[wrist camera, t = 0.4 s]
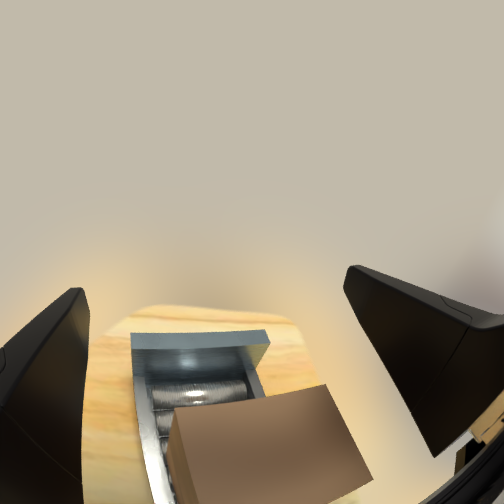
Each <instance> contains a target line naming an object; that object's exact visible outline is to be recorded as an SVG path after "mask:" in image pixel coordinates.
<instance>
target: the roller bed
mask: <svg viewBox="0 0 504 504" xmlns="http://www.w3.org/2000/svg"><path fill="white" fill-rule="evenodd" d="M269 345H270V341H269V339H268V336H267V334H266V331H265V329H264V330H249V331H231V332H205V333H131V357H132V373H133V385H134V394H135V403H136V411H137V418H138V425H139V432H140V438H141V444H142V450H143V455H144V460H145V465H146V470H147V474H148V479H149V483H150V488H151V492H152V496H153V500H154V503H155V504H178V501H177V498H176V494H175V490H174V487H173V483H172V479H171V475H170V471H169V467H168V463H167V459H166V451H167V445H168V440H169V435H170V429H171V424H172V419H173V414H174V409H175V408H180V407H193V406H204V405H214V404H222V403H230V402H238V401H244V400H251V399H257V398H263V397H266V396H265V393H264V391H263V388H262V385H261V383H260V380H259V378H258V375H257V372H256V370H255V369H256V367H257V365H258V364H259V362H260V360H261V359H262V357H263V355H264V353H265V352H266V350H267V348H268V347H269Z"/></svg>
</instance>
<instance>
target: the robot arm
mask: <svg viewBox="0 0 504 504" xmlns="http://www.w3.org/2000/svg"><path fill="white" fill-rule="evenodd" d="M343 289H344V292H345V294H346V296H347V298H348V300H349V303H350V305H351V307H352V309H353V311H354V313H355V315H356V317H357V319H358V321H359V323H360V325H361V327H362V328H363V330H364V331H365V333H366V335H367V336H368V338H369V340H370V342H371V343H372V345H373V347H374V348H375V350H376V352H377V354H378V355H379V357H380V359H381V360H382V362H383V364H384V365H385V367H386V369H387V371H388V373H389V374H390V376H391V378H392V380H393V382H394V383H395V385H396V387H397V389H398V391H399V392H400V394H401V396H402V398H403V400H404V402H405V403H406V405H407V407H408V409H409V411H410V412H411V415H412V417H413V419H414V421H415V423H416V424H417V426H418V428H419V430H420V432H421V434H422V436H423V438H424V440H425V442H426V444H427V446H428V448H429V450H430V452H431V454H432V456H433V457H434V458H435V457H437V456H438V455H439V454H441V453H442V452H443V451H445V450H446V449H447V448H448V447H449V446H451V445H452V444H453V443H454V442H456V441H457V440H458V439H459V438H460V437H462V436H463V435H464V434H465V433H466V432H467V431H469V432H470V433H471V435H472V436H473V438H472V439H471V440H470V441H469V442H468V443H467V444H466V445H464V447H462V449H460V450H459V451H458V452H457V453H456V463H455V472H454V476H453V477H452V478H451V479H450V480H449V481H447V482H446V483H445V484H444V485H443V486H441V487H440V488H439V489H438V490H437V491H435V492H434V493H432V494H431V495H430V496H428V497H427V498H426V499H424V500H423V501H422V502H420V503H419V504H504V314H503V315H498V314H492V313H489V312H486V311H484V310H480V309H478V308H475V307H471V306H469V305H466V304H463V303H460V302H457V301H455V300H452V299H449V298H446V297H444V296H441V295H438V294H436V293H434V292H431V291H428V290H425V289H423V288H420V287H418V286H415V285H413V284H410V283H407V282H404V281H402V280H399V279H397V278H394V277H391V276H388V275H386V274H383V273H380V272H378V271H375V270H372V269H369V268H367V267H364V266H361V265H353V266H350V267H349V268H348V270H347V273H346V277H345V281H344V285H343ZM89 323H90V311H89V307H88V303H87V299H86V296H85V292H84V290H83V288H81V287H78V288H70V289H69V290H67V291H66V292H65V293H64V294H62V295H61V296H60V297H59V298H58V299H56V300H55V301H54V302H53V303H51V304H50V305H49V306H48V307H47V308H45V309H44V310H43V311H42V312H41V313H40V314H38V315H37V316H36V317H35V318H34V319H33V320H31V321H30V322H29V323H28V324H27V325H26V326H25V327H23V328H22V329H21V330H20V331H19V332H18V333H17V334H16V335H15V336H13V337H12V338H11V339H10V340H9V341H8V342H7V343H6V344H5V345H4V346H3V347H4V348H3V347H1V348H0V504H84V500H83V486H82V466H81V438H82V414H83V400H84V388H85V379H86V370H87V362H88V345H89Z"/></svg>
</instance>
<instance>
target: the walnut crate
mask: <svg viewBox="0 0 504 504" xmlns="http://www.w3.org/2000/svg"><path fill="white" fill-rule="evenodd" d="M166 459H167V463H168V467H169V471H170V475H171V479H172V483H173V487H174V490H175V494H176V498H177V501H178V504H327V503H330V502H332V501H334V500H336V499H338V498H340V497H342V496H344V495H346V494H348V493H350V492H352V491H354V490H356V489H358V488H359V487H361V486H363V485H365V484H367V483H368V482H370V481H372V480H373V478H372V476H371V474H370V471H369V469H368V467H367V466H366V464H365V462H364V460H363V457H362V455H361V453H360V452H359V450H358V448H357V446H356V444H355V442H354V440H353V438H352V436H351V434H350V432H349V430H348V428H347V426H346V424H345V422H344V420H343V418H342V416H341V414H340V412H339V410H338V408H337V406H336V404H335V402H334V400H333V398H332V396H331V394H330V392H329V390H328V388H327V386H326V384H324V385H320V386H316V387H312V388H307V389H303V390H299V391H294V392H289V393H284V394H279V395H274V396H269V397H263V398H257V399H251V400H244V401H238V402H230V403H222V404H214V405H204V406H193V407H180V408H175V409H174V414H173V419H172V424H171V429H170V435H169V440H168V445H167V451H166Z"/></svg>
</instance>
